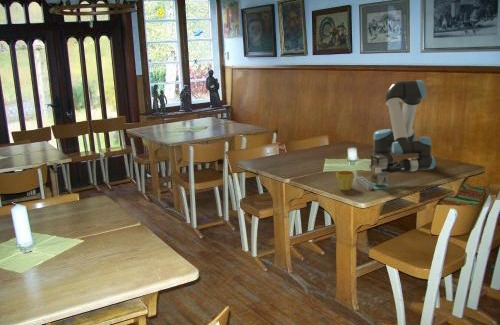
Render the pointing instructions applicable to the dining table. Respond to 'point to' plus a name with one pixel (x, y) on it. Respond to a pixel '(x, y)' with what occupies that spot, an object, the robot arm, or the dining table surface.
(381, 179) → the coffee box
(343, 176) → the plant pot
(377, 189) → the pad
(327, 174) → the dining table surface
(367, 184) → the steel rail
